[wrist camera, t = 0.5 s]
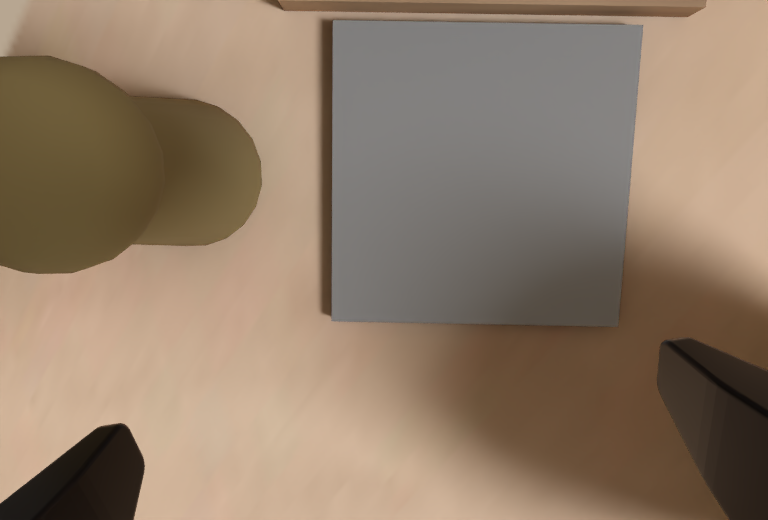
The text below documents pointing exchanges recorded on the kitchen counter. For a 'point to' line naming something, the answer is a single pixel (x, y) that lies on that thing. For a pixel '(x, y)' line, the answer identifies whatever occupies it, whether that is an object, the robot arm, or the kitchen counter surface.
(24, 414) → the kitchen counter surface
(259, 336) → the kitchen counter surface
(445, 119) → the mat
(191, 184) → the cork
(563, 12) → the switch panel
